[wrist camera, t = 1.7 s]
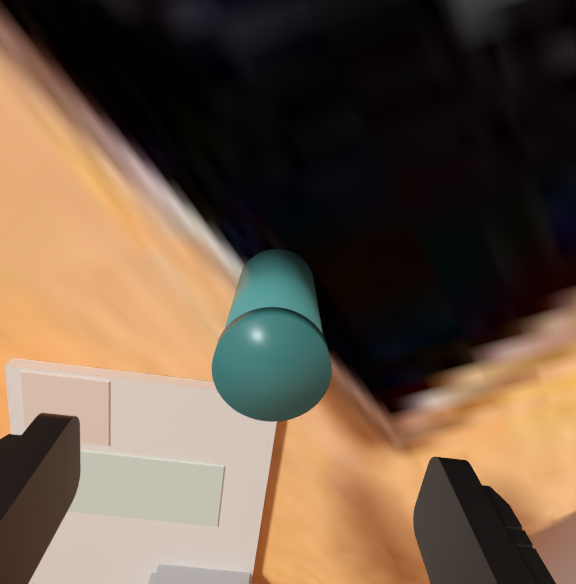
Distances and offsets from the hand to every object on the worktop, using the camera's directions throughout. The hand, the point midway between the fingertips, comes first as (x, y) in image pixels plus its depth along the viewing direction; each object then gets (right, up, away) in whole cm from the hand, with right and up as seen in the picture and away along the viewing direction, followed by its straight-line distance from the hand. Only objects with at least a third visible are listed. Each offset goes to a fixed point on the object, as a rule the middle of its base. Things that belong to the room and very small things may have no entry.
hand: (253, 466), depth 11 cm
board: (-8, -9, +17) cm, 21 cm away
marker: (0, +4, +12) cm, 13 cm away
